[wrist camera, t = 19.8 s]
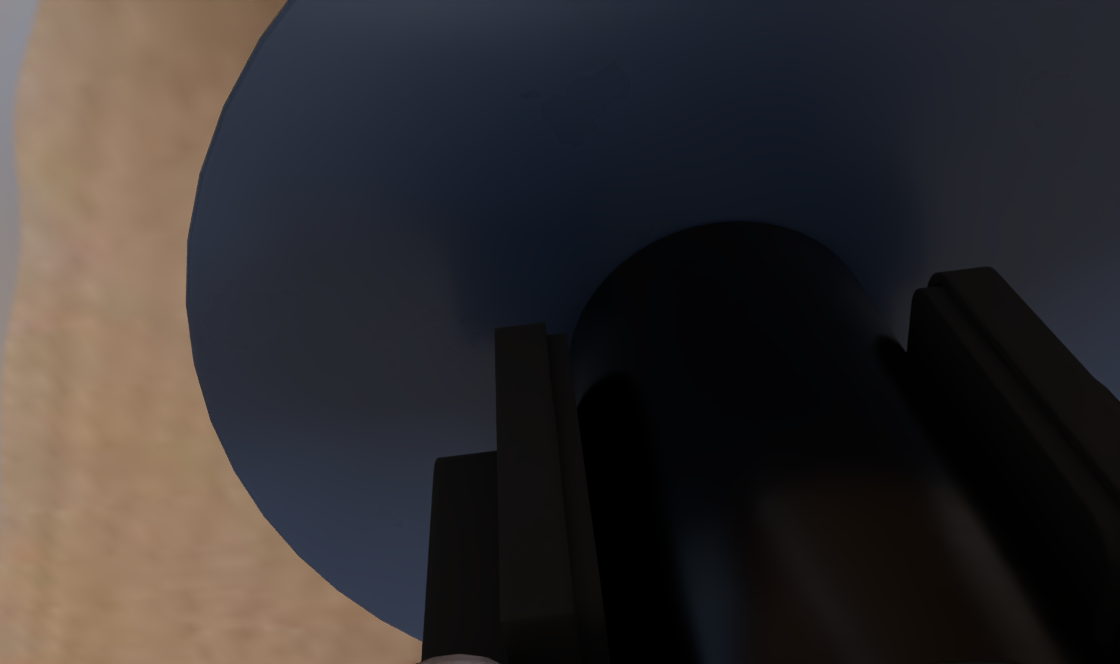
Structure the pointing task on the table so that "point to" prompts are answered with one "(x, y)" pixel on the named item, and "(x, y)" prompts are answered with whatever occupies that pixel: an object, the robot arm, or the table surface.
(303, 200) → the lid
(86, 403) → the table surface
